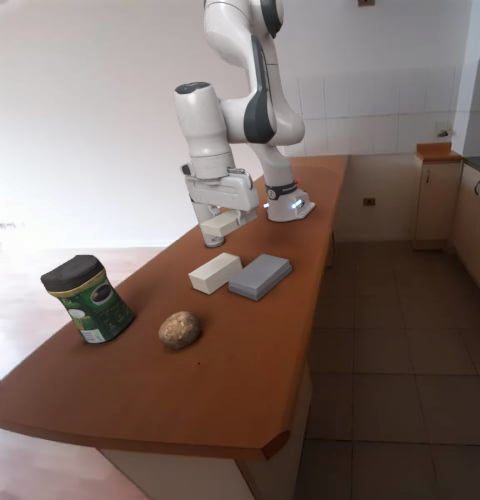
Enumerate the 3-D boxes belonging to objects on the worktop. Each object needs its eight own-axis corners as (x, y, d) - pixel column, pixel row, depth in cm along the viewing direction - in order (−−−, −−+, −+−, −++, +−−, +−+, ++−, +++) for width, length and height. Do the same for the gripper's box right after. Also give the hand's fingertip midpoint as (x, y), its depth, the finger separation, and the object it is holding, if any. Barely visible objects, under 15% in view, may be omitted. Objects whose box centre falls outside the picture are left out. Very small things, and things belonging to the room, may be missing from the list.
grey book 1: (263, 258, 84) (262, 253, 83) (290, 264, 80) (289, 259, 80) (229, 285, 73) (227, 280, 73) (257, 294, 70) (256, 288, 69)
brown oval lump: (174, 311, 64) (167, 303, 58) (209, 319, 65) (205, 313, 60) (156, 346, 60) (147, 342, 55) (194, 355, 61) (188, 351, 56)
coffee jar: (112, 314, 69) (72, 250, 60) (140, 315, 68) (104, 250, 59) (77, 345, 61) (24, 276, 52) (109, 346, 60) (61, 277, 51)
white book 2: (228, 265, 86) (226, 258, 85) (243, 270, 83) (241, 263, 82) (193, 288, 77) (191, 281, 75) (209, 294, 74) (206, 287, 72)
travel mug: (219, 248, 96) (201, 192, 86) (202, 247, 97) (183, 192, 87) (228, 239, 101) (213, 186, 91) (212, 238, 102) (195, 186, 92)
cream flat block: (240, 213, 76) (238, 205, 75) (258, 217, 73) (256, 208, 72) (203, 232, 67) (200, 223, 66) (221, 237, 64) (219, 228, 63)
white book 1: (226, 258, 85) (224, 252, 83) (241, 263, 82) (239, 256, 80) (191, 281, 75) (188, 274, 74) (206, 287, 72) (204, 280, 71)
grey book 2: (266, 262, 86) (265, 257, 85) (292, 270, 81) (291, 265, 80) (229, 290, 75) (227, 285, 74) (257, 301, 70) (255, 295, 69)
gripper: (259, 165, 60) (270, 223, 67) (197, 160, 69) (213, 212, 76) (237, 173, 56) (252, 234, 63) (174, 167, 65) (193, 221, 72)
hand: (230, 222), depth 69 cm, fingers closed on cream flat block, 6 cm apart
